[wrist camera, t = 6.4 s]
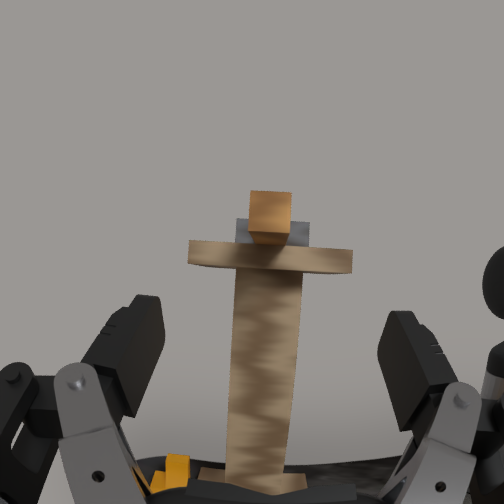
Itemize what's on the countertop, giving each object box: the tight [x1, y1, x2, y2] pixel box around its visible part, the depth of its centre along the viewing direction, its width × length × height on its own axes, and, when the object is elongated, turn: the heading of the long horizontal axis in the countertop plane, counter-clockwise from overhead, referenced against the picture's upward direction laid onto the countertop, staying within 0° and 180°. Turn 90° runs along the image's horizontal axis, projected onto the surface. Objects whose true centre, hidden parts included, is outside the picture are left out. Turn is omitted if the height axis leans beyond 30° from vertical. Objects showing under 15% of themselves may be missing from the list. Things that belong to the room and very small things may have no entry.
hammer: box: [235, 191, 310, 247], centre depth 28 cm, size 8×19×4 cm, turn 176°
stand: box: [188, 240, 353, 495], centre depth 30 cm, size 14×10×31 cm
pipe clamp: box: [150, 453, 190, 493], centre depth 24 cm, size 12×4×6 cm, turn 4°
